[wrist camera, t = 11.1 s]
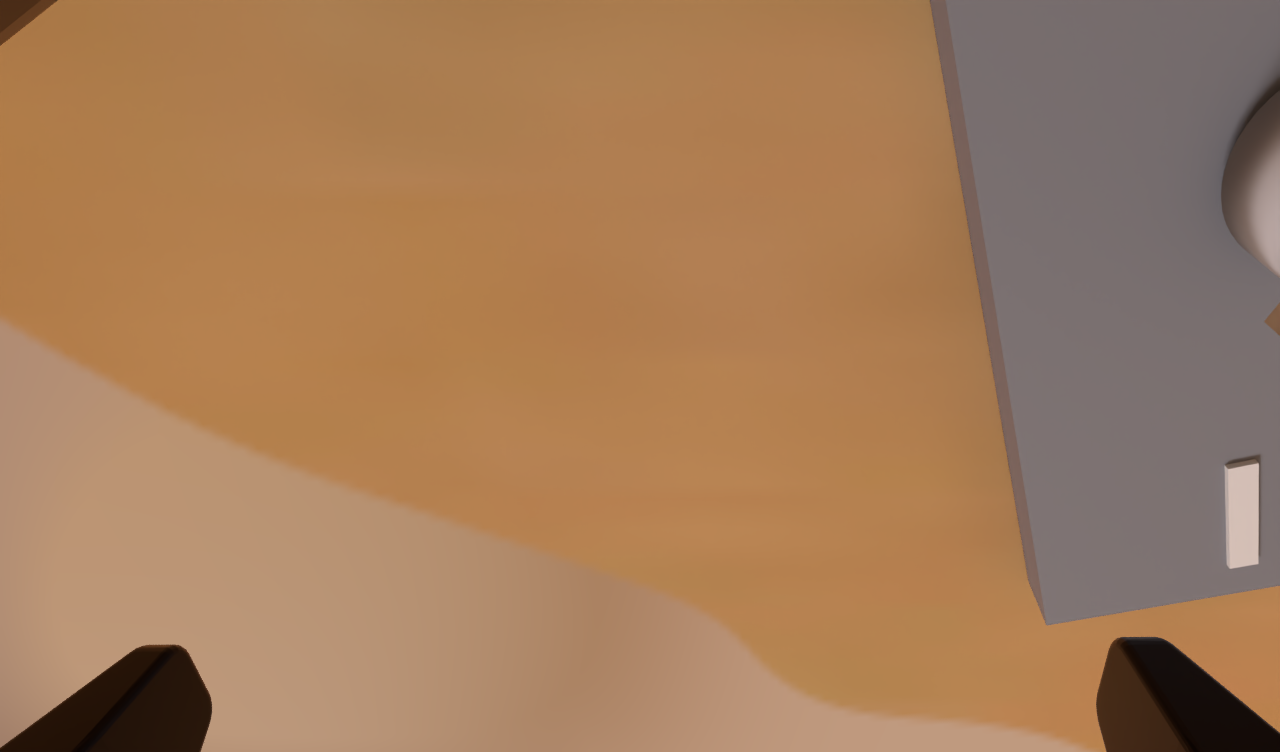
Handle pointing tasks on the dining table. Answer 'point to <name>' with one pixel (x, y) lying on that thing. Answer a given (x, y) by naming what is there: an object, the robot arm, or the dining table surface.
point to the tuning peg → (1256, 191)
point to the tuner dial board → (1122, 289)
